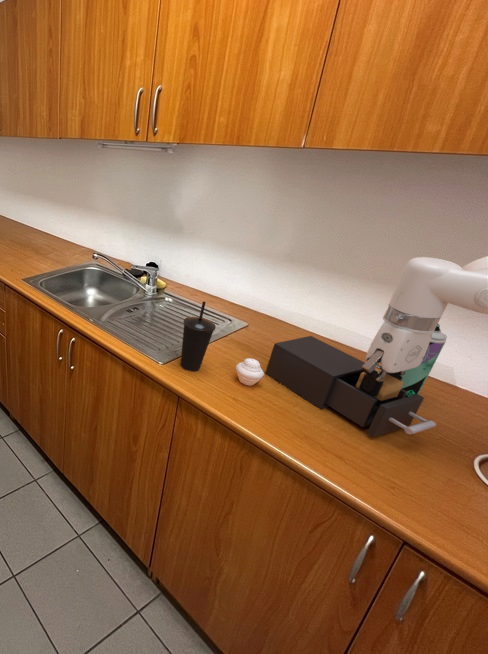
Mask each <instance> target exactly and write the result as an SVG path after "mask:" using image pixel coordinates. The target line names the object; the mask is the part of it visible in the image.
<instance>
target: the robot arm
mask: <svg viewBox="0 0 488 654" xmlns="http://www.w3.org/2000/svg"><path fill="white" fill-rule="evenodd" d="M387 304H388V305H387V307H386V310H385V311H384V314H383V315H382V320H383V322H382V324H381V326H380V327H379V329H378V331H377V332H376V334H375V335H374V337H373V339H372V340H371V341H372V342H371V343H370V346H369V347H368V350H367V352H366V355H365V364H364V365H363V366H362V368H363V370H364V371H365V372H364V377H363V379H362V382H361V384H360V386H359V389H361V390H362V391H364V392H366V393H368V394H370V395H371V396H373V397H375V396H377V395H378V393H379V391H380V389H381V387H382V385H383V381H382V379H383V378H384V376H385V375H386V374H388V375H390V376H392V377H394V378H396V379H398V380H400V381H401V379H402V376H403V375H405V373H406V370H408V369H412V368H415V367H418V366H419V365H420V364H421V362H422V360H423V358H424V356H425V353H426V351H427V348H428V346H429V343H430V341H431V338H432V334H433V332H434V330H435V328H436V326H437V324H439V322H440V320H441V318H442V317H443V315H444V313H445V311H446V308H447V306H448V304H450V305H453V306H457V307H459V308H461V309H462V308H463V309H466V310H469V311H472V312H474V313H478V314H483V315H484V314H485V315H488V255H486V256H483V257H481V258H478V259H475V260H472V261H471V262H469V263H467V264H465V265H463V266H462V267H461V266H460V265H459V264H457V263H455V262H453V261H450V260H446V259H443V258H442V259H441V258H437V257H431V256H429V257H428V256H417V257H413V258H411V259H409V260H408V261H407V262H406V263H405V266H404V267H403V270H402V272H401V275H400V278H399V280H398V282H397V284H396V286H395V289H394V290H393V293H392V296H391V298H390V300H389V302H388V303H387ZM379 363H380V364H379ZM375 368H376V369H378V370H380V371H381V372H380V373H379V374H378V372H377V371H375ZM400 375H401V376H400Z"/></svg>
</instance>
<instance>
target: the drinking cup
mask: <svg viewBox="0 0 488 654" xmlns="http://www.w3.org/2000/svg"><path fill="white" fill-rule="evenodd" d="M201 303H202V304H201V308H200V313H199V316H187V317H185V318H184V319H183V321H182V322H183V334H182V343H181V354H180V355H181V356H180V366H181V368H182V369H184V370H186V371H188V372H198V371H200V369H201V366H202V364H203V361H204V357H205V356H206V353H207V351H208V347H209V344H210V342H211V338H212V337H213V333H214V331H216V327H217V326H216V324H215V323H214V322H212V321H211V320H209V319H206V318H204V312H205V307H206V301H202V302H201Z"/></svg>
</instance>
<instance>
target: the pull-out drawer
mask: <svg viewBox="0 0 488 654" xmlns="http://www.w3.org/2000/svg"><path fill="white" fill-rule="evenodd" d="M363 372H365V371H362V372H358V373H354V374H350V375H346V376H342V377H338V378H335V380H334V382H333V385H332V387H331V390H330V392H329V395H328V397H327V400H326V402H325V404H327V405H328V406H330V407H329V408H331V409H333V410H335V411H336V412H338V413H339V414H341V415H343V416H344V417H346V418H347V419H349V420H351V421H352V422H354V423H355V424H357V425H358V426H360V427H362V428H364V427H368V426H369V428H368V430H367V432H366V434H367V435H369V436H370V437H372V438H375V437H378V436H382V435H385V434H387V433H392V432H394V431H398V430H401V429H403V431H404V432H405V434H407V435H409V436H410V435H414V434H417V433H420V432H423V431H427V430H430V429H433V428H436V426H437V423H436V422H435V421H433V420H432V419H431V420H430V419H428V420H427V419H426V418H424V417H423V416H419V414H417V412H418V410H419V409H420V407H421V405H422V403H423V401H424V399H425V396H422V395H420V394H419V395H418V394H416V395H413V396H409V397H406V398H404V397H405V395H406V393H407V391H405V390H403V389H401V390H400V392H399V394H398V396H397V397H393V398H390V399H386V400H383V401H380V400H378V399H377V398H375V397H373V396H371V395H369V394H368V393H366V392H364V391H362V390H360V389H359V388H357V387H356V384H357V382H358V380H359V377H360V375H361V373H363ZM414 419H416V420H418V421H420V422H418V423H416V424H412V422H413V420H414ZM411 424H412V425H411Z"/></svg>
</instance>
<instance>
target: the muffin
mask: <svg viewBox="0 0 488 654" xmlns="http://www.w3.org/2000/svg"><path fill="white" fill-rule="evenodd" d="M235 372H236V375H237V378H238V380H239V382H240V383H241V384H242V385H245V386H249V387H250V386H254V385H255V384H257V383H258V382H259V381H261V379H263V378H264V376H265V373H264V370H263V369H262V368H261V364H260V362H259V360H257V359H256V358H255V359H254V358H252V357H251V358H250V357H247V358H245V359H244V360H243V361H241V362H239V363H237V364H236V366H235Z"/></svg>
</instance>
